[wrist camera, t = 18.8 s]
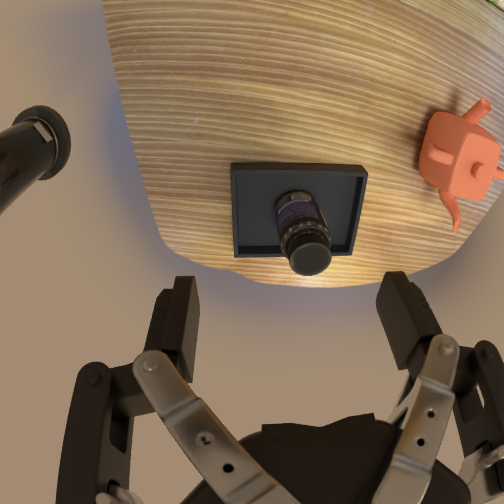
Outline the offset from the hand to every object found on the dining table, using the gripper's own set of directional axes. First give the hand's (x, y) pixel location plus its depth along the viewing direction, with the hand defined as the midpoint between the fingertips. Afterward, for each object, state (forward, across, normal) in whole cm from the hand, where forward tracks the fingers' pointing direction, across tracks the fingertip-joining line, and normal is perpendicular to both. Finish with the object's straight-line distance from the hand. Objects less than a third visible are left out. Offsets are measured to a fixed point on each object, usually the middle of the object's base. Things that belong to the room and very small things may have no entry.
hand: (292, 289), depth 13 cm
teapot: (+28, -26, +1) cm, 38 cm away
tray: (+28, -5, +12) cm, 31 cm away
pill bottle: (+28, -5, +12) cm, 31 cm away
